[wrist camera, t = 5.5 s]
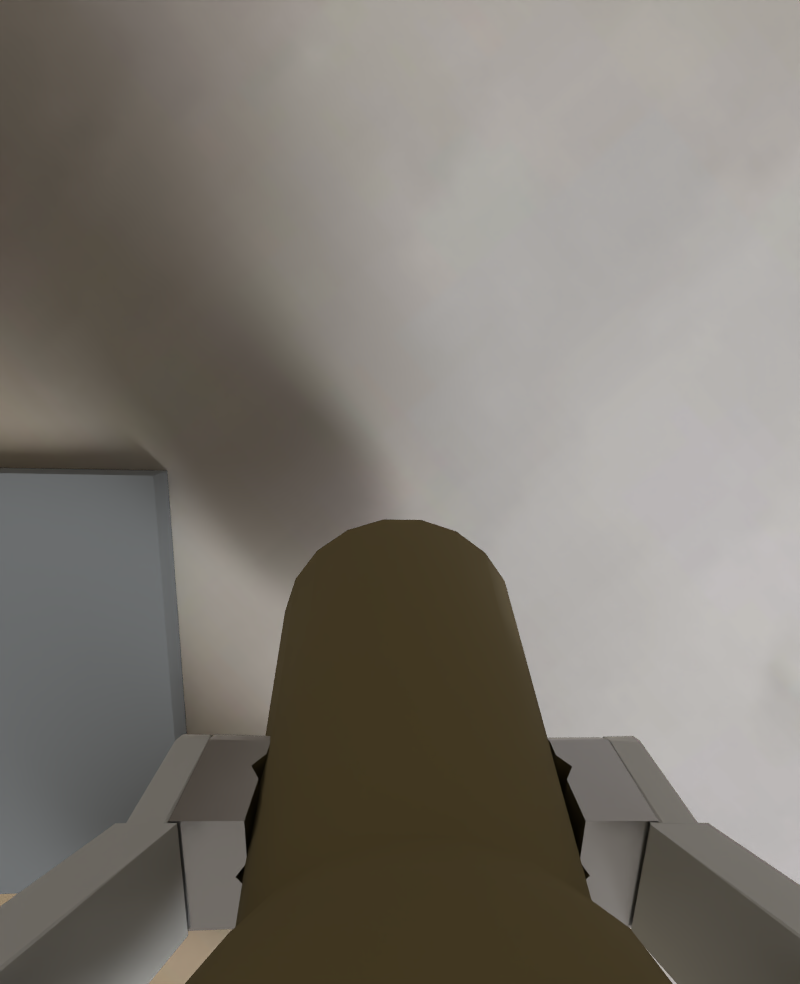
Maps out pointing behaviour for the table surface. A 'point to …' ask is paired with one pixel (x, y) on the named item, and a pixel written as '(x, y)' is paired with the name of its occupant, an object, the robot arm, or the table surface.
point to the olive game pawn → (412, 789)
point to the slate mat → (82, 657)
